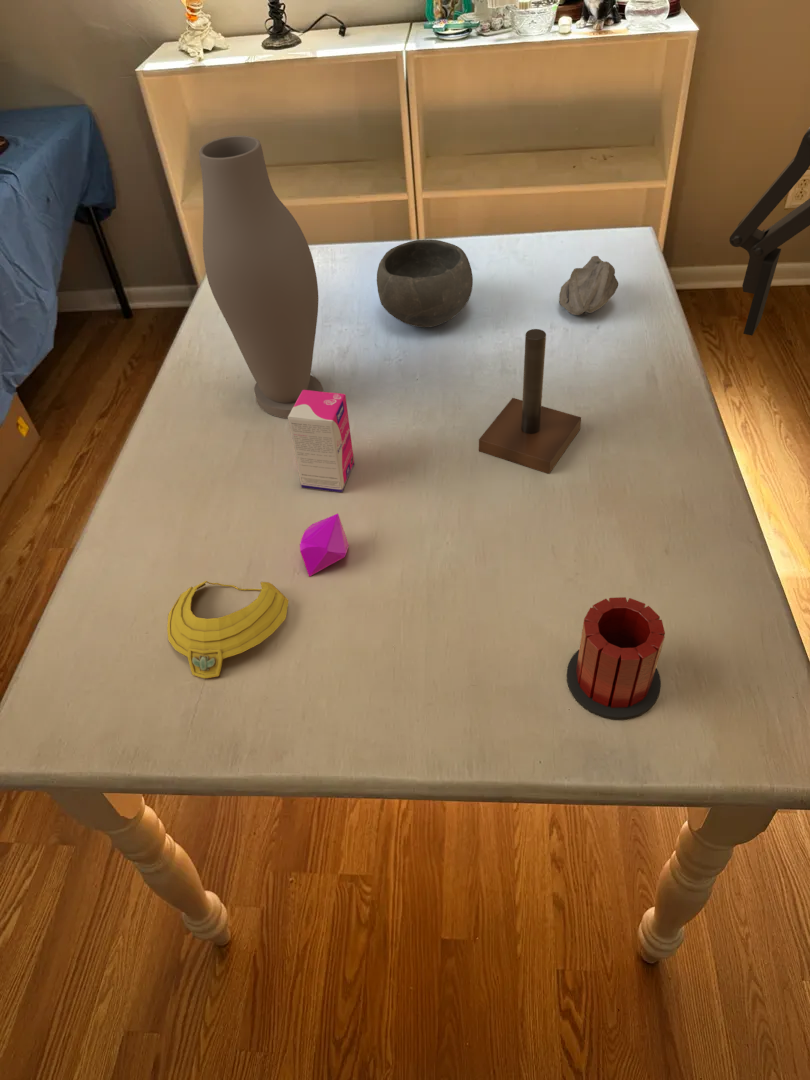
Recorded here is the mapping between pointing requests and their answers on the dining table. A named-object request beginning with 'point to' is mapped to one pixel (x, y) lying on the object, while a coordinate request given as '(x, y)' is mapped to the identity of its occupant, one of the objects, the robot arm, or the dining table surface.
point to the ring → (619, 651)
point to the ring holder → (531, 419)
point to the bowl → (424, 282)
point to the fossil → (589, 287)
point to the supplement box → (321, 440)
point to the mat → (608, 711)
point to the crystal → (323, 544)
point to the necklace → (223, 628)
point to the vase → (259, 271)
